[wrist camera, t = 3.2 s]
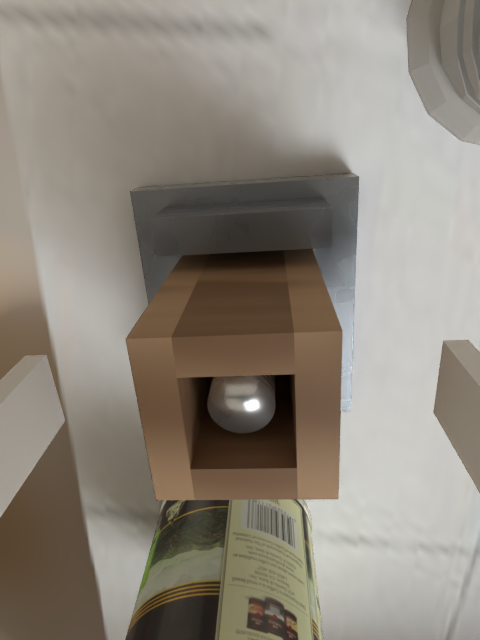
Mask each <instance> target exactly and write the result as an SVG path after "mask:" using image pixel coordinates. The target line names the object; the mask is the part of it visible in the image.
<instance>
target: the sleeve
mask: <svg viewBox="0 0 480 640" xmlns="http://www.w3.org/2000/svg"><path fill="white" fill-rule="evenodd" d="M342 337H343V331H342V328H341V325H340V322H339V320H338V317H337V314H336V312H335V309H334V306H333V304H332V301H331V298H330V295H329V293H328V290H327V287H326V285H325V282H324V279H323V276H322V274H321V271H320V268H319V266H318V263H317V260H316V258H315V255H314V252H313V249H295V250H276V251H257V252H238V253H219V254H200V255H182V257H181V258H180V259H179V261H178V262H177V264H176V265H175V267H174V268H173V270H172V271H171V273H170V274H169V276H168V277H167V279H166V280H165V282H164V283H163V285H162V286H161V287H160V289H159V290H158V292H157V293H156V295H155V296H154V298H153V299H152V301H151V302H150V304H149V305H148V307H147V308H146V310H145V311H144V313H143V314H142V316H141V317H140V318H139V320H138V321H137V323H136V324H135V326H134V327H133V329H132V330H131V332H130V333H129V335H128V336H127V338H126V344H127V349H128V355H129V360H130V365H131V370H132V376H133V381H134V386H135V391H136V397H137V402H138V407H139V412H140V417H141V423H142V428H143V433H144V438H145V444H146V449H147V454H148V459H149V465H150V470H151V475H152V480H153V485H154V491H155V496H156V500H282V499H338V490H339V452H340V414H341V376H342ZM254 375H275V413H274V415H273V417H272V419H271V421H270V422H269V423H268V424H267V425H266V426H265V427H263V428H261V429H260V430H257V431H255V432H251V433H234V432H231V431H228V430H226V429H224V428H222V427H220V426H219V425H218V424H217V423H216V422H215V421H214V420H213V419H212V417H211V416H210V414H209V411H208V405H207V402H208V396H209V392H210V387H211V383H212V378H213V377H220V376H254Z"/></svg>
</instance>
